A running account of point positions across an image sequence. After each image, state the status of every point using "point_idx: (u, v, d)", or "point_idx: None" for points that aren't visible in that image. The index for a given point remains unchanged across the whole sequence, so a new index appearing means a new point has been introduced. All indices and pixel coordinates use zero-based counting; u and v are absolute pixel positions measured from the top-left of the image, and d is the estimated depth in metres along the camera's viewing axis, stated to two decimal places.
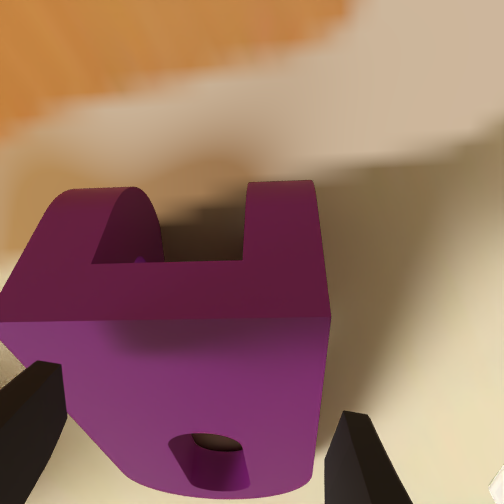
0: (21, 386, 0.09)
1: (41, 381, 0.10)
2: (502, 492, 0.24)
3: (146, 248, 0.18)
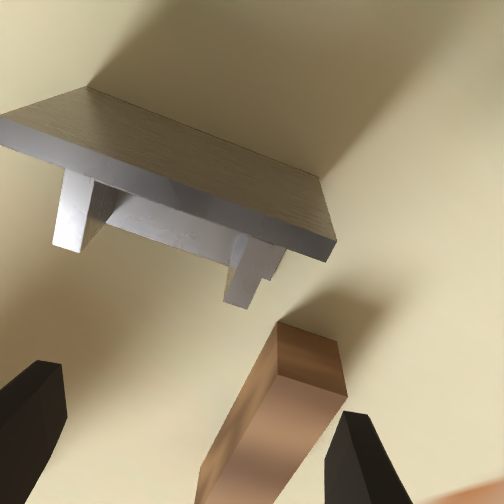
0: (21, 386, 0.09)
1: (41, 381, 0.10)
2: None
3: None
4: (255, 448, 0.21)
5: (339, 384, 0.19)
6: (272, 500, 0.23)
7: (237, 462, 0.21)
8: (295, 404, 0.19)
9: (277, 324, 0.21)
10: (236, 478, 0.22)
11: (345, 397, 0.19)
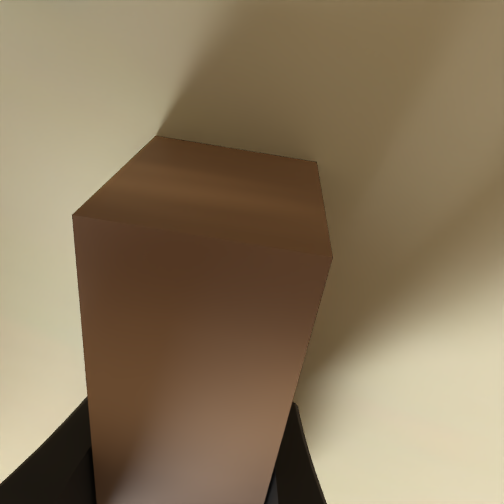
0: None
1: None
2: None
3: None
4: (140, 459, 0.08)
5: (306, 231, 0.06)
6: None
7: (117, 495, 0.09)
8: (178, 313, 0.06)
9: (152, 141, 0.08)
10: None
11: (324, 260, 0.05)
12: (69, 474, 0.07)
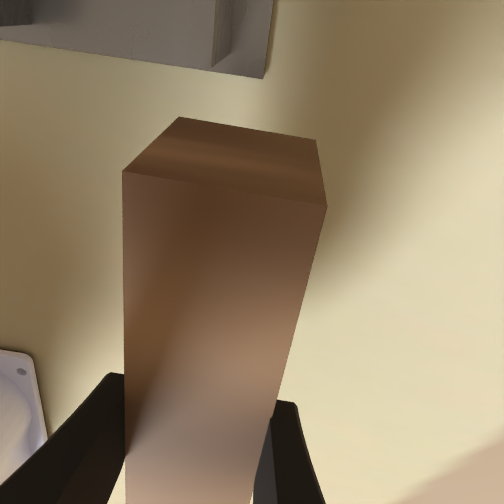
0: (102, 399, 0.09)
1: (120, 394, 0.10)
2: None
3: None
4: (164, 389, 0.09)
5: (306, 188, 0.07)
6: (247, 495, 0.11)
7: (143, 424, 0.10)
8: (202, 255, 0.08)
9: (176, 121, 0.10)
10: (158, 458, 0.11)
11: (320, 208, 0.07)
12: (70, 474, 0.07)
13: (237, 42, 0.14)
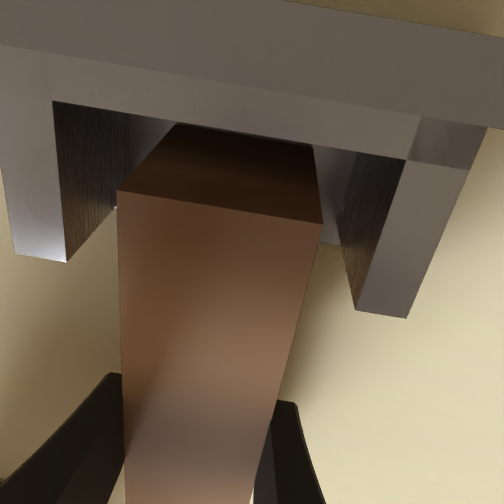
0: (102, 399, 0.09)
1: (120, 394, 0.10)
2: None
3: None
4: (162, 399, 0.09)
5: (303, 204, 0.07)
6: (245, 500, 0.11)
7: (141, 432, 0.10)
8: (198, 272, 0.08)
9: (171, 130, 0.10)
10: (157, 464, 0.11)
11: (317, 226, 0.07)
12: (70, 474, 0.07)
13: None
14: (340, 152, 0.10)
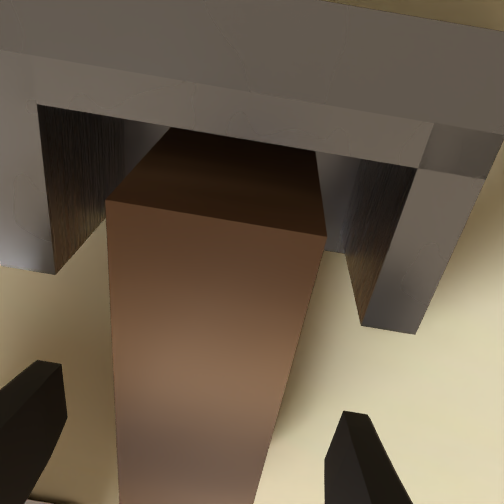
0: (21, 386, 0.09)
1: (41, 381, 0.10)
2: None
3: None
4: (156, 416, 0.09)
5: (305, 214, 0.07)
6: None
7: (136, 450, 0.10)
8: (194, 285, 0.07)
9: (167, 134, 0.09)
10: (152, 482, 0.10)
11: (320, 239, 0.06)
12: None
13: None
14: (344, 156, 0.10)
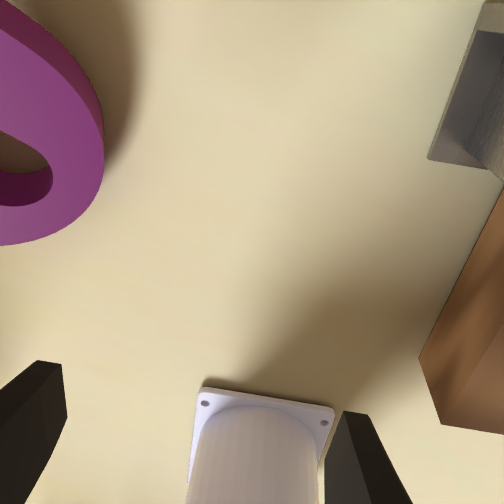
0: (21, 386, 0.09)
1: (41, 381, 0.10)
2: None
3: None
4: None
5: None
6: None
7: None
8: None
9: None
10: None
11: None
12: None
13: None
14: None
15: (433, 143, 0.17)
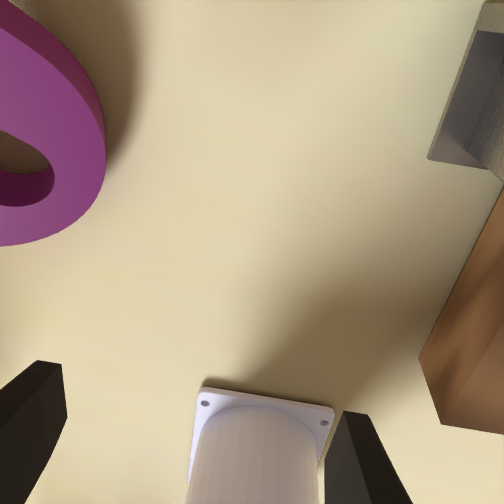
0: (21, 386, 0.09)
1: (41, 381, 0.10)
2: None
3: None
4: None
5: None
6: None
7: None
8: None
9: None
10: None
11: None
12: None
13: None
14: None
15: (433, 143, 0.17)
